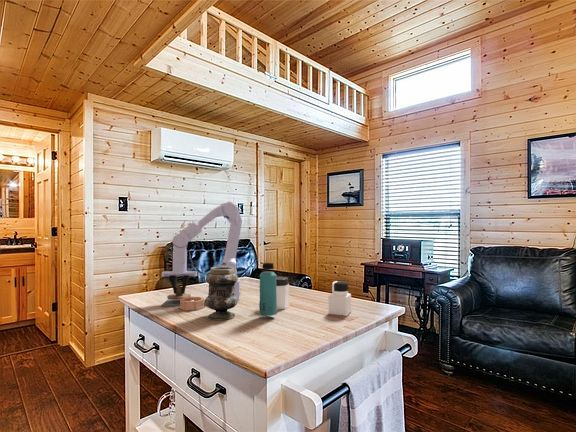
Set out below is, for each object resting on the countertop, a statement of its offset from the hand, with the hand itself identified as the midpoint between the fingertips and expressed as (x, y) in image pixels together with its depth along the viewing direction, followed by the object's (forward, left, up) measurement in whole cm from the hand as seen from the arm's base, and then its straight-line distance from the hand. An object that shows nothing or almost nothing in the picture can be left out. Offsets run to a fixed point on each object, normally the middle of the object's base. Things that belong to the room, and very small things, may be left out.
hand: (179, 293), depth 142 cm
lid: (0, 0, -2) cm, 2 cm away
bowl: (-7, +9, -4) cm, 12 cm away
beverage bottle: (-37, +26, -4) cm, 45 cm away
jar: (-42, +11, -4) cm, 44 cm away
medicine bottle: (-65, +22, -4) cm, 69 cm away
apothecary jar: (-20, +23, -4) cm, 31 cm away
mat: (0, 0, -4) cm, 4 cm away
